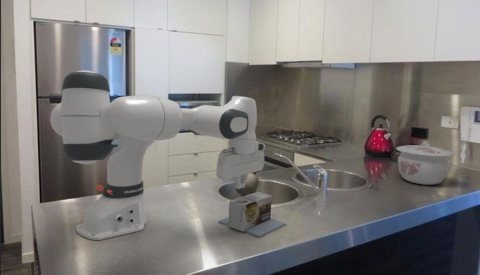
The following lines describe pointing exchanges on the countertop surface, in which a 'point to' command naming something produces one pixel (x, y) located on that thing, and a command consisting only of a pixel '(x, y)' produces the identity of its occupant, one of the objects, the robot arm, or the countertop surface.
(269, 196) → the coffee box
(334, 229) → the countertop surface
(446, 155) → the chamber pot
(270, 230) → the mat
